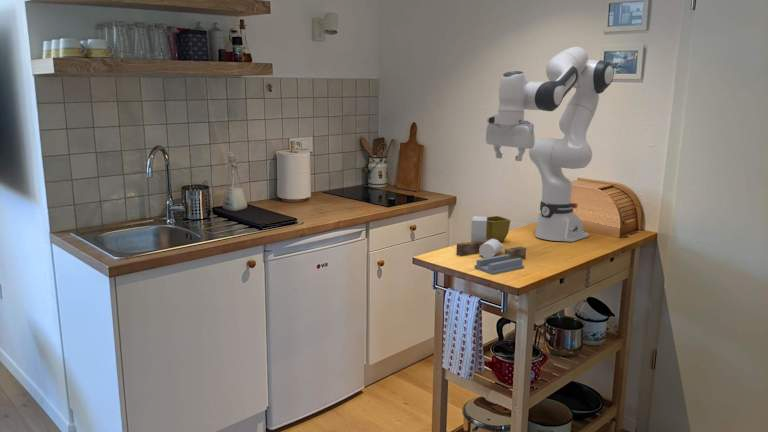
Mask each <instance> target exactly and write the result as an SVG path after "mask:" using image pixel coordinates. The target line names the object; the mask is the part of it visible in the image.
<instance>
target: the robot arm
mask: <svg viewBox="0 0 768 432" xmlns="http://www.w3.org/2000/svg"><path fill="white" fill-rule="evenodd" d="M545 67H546V68H545V72H546V73H545V74H546V77H547V79H548V81H530V80H528V78H526V77H525V72H524V71H520V70H513V71H507V72H505V73H503V74H502V75H501V78H500V81H499V87H498V101H499V106H498V109H497V113H496V114H494V115H492V116H489V117H487V119H486V123H487V125H486V130H485V142H486V144H487V145H491V146H493V150H494V152H495V158H496V159H502V158H503V153H502V151H501V147H508V148H517V151H518V153H517V155H515V157H514V158H515V161H516V162H522V160H523V156H524V154H525V152H526V150H527V149H528V155H529V159H530V161H531V162H532V163H533V164H534V165H535V166H536V168H537V169H538V172H539V175H540V178H541V182H542V183H541V185H542V186H541V188H542V189H541V201H540V203H539V210H540V212H539V214H538V218H537V224H536V229H535V230H534V233H535V236H534V237H536V238H538V239H541V240H547V241H554V242H555V241H556V242H567V243H568V242H571V243H573V242H577V241H580V240H581V239H585V238H587V237H590V233H588V232H586V231H584V221H582V219H581V218H580V217H579V216H577V214H576V213H574V209H578V205H579V204H578V203H574V202H572V190H573V189H572V188H573V185H572V182H571V180H570V179H569V178H568V177H566V176H565V174H564V173H563V170H562V168H563V169H570V170H575V169H576V170H578V169H585V168H586V167H588V166H589V164H591V161H592V157H593V150H592V148H591V146H590V144H589V143H588V142H587V138H586V137H587V131H588V129H589V127H590V124H591V122H592V120H593V118H594V116H595V114H596V111H597V108H598V104H599V101H600V96H599V95H600V94H602V93H603V92H604V91H606V89H608V87H609V86H610V85H611V84H612V82H613V80H614V75H615V69H614V66H613V64H612V63H611V62H610V61H607V60H602V59H601V60H597V59H589V55H588V53H587V51H586V50H585V49H584V48H583V47H580V46H572V47H569V48H566V49H564V50H562V51H560V52H558V53H557V54H556V55H554V56H553V57H552V58H551V59H549V61H548V62H547V64H546V66H545ZM572 89H575V92H574V93H573V95H572V97H571V98H570V100H569V102H568V103H567V105H566V107H565V109H564V110H563V113H562V115H561V117H560V119H559V122H558V127H559V130H560V131H561V133H562V134H564V136H563V137H562V138H553V137H545V138H537V139H536V137H535V130H534V129H535V125H534V124H533V123H532V121H531V120H525V110H529V111H530V110H531V111H532V110H534V111H543V112H554V111H556V110H557V108H559V106H560V105H561V103H562V102H563V100H564V98H565V96H567V94H568V93H569V92H570V91H571V90H572Z"/></svg>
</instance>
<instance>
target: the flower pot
mask: <svg viewBox="0 0 768 432" xmlns="http://www.w3.org/2000/svg"><path fill="white" fill-rule="evenodd" d="M486 217H487V236H486V239H489V238H490V239H496V240H498V241H499V242H500V243H502V242H504V241H505V239H506V238H507V236H508V234H509V231H510V226H511V219H509V218H507V217H502V216H499V215H495V216H494V215H492V216H486Z"/></svg>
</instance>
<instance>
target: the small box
mask: <svg viewBox="0 0 768 432" xmlns="http://www.w3.org/2000/svg"><path fill="white" fill-rule="evenodd" d="M487 217H488V216H475V215H474V216H472V220H471V226H470V228H471V229H470V230H471V233H470V242H471V241H477V240H483V239H486V236H487Z"/></svg>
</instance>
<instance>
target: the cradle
mask: <svg viewBox="0 0 768 432" xmlns="http://www.w3.org/2000/svg"><path fill="white" fill-rule="evenodd" d="M524 268H525V266H524V264H523V260H522V259H521V258H516V259H511V260H510V255H508V254H505V255H504V254H502V255H501V254H500V255H495V256H493V257H489V258H484V257H483V258H480V259H476V264H475V265H474V269H476V270H478V271H481V272H484V273H487V274H490V275H492V276H494V275H499V274H502V273H507V272H513V271H516V270H521V269H524Z"/></svg>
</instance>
